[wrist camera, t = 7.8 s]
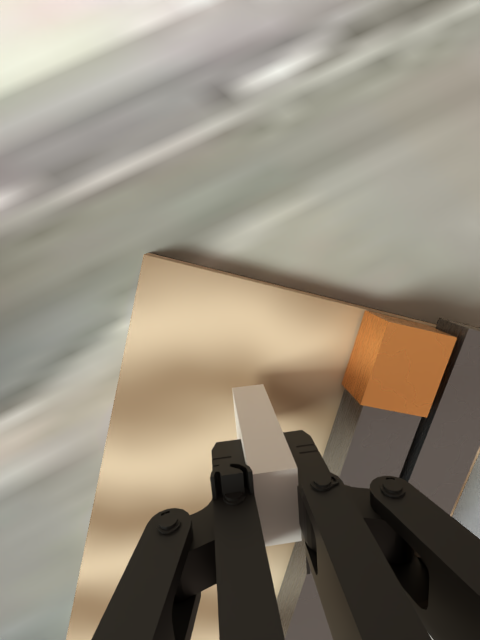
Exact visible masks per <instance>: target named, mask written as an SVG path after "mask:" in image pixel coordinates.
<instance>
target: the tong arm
mask: <svg viewBox="0 0 480 640" xmlns="http://www.w3.org/2000/svg"><path fill="white" fill-rule="evenodd" d="M456 340H457V337H455V336H452V335H450V334H448V333H445V332H443V331H440V330H438V329H436V328H433V327H431V326H428V325H426V324H421V323H417V322H413V321H409V320H404V319H400V318H396V317H392V316H387V315H383V314H379V313H374V312H370V311H366V310H365V312H364V315H363V318H362V321H361V324H360V328H359V331H358V334H357V337H356V340H355V343H354V346H353V349H352V353H351V356H350V359H349V362H348V365H347V368H346V371H345V374H344V378H343V381H342V385H343V386H344V387H345V389H344V392H343V396H342V399H341V402H340V405H339V408H338V411H337V414H336V417H335V420H334V423H333V426H332V430H331V433H330V436H329V439H328V442H327V445H326V448H325V451H324V454H323V457H322V458H323V460H324V461H325V463H326V465H327V467H328V469H329V471H330V472H331V473H333V474H335V475H337V476H338V477H339V478H340V479H341V480H342V481H343V483H344V485H347V486H351V487H357V488H368V489H370V484H371V482H372V480H374V479H375V478H377V477H380V476H395V477H398V478H399V476H400V473H401V471H402V468H403V465H404V463H405V460H406V457H407V455H408V452H409V449H410V447H411V444H412V441H413V439H414V436H415V433H416V431H417V428H418V425H419V423H420V420H421V417H426V418H427V416H428V414H429V411H430V408H431V406H432V403H433V401H434V398H435V395H436V393H437V390H438V387H439V385H440V382H441V379H442V377H443V374H444V371H445V369H446V366H447V363H448V361H449V358H450V356H451V353H452V350H453V348H454V345H455V342H456ZM301 539H302V541H298V542H295V544H294V547H293V550H292V554H291V557H290V560H289V563H288V566H287V569H286V572H285V575H284V578H283V581H282V585H281V588H280V591H279V594H278V597H277V604H278V609H279V614H280V619H281V624H282V628H283V633H284V638H285V640H333V638H332V635H331V631H330V628H329V625H328V622H327V619H326V616H325V613H324V610H323V607H322V603H321V600H320V597H319V594H318V591H317V588H316V585H315V582H314V579H313V575H312V572H311V569H310V574H307V570H306V553H305V539H304V536H303V533H302V530H301Z"/></svg>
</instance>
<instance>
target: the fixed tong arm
mask: <svg viewBox="0 0 480 640" xmlns="http://www.w3.org/2000/svg"><path fill="white" fill-rule="evenodd" d="M436 329H438V330H440V331H443V332H445V333H448V334H450V335H452V336H455V337H457V340H456V342H455V345H454V348H453V350H452V353H451V356H450V358H449V361H448V363H447V366H446V369H445V371H444V374H443V377H442V379H441V382H440V385H439V387H438V390H437V393H436V395H435V398H434V401H433V403H432V406H431V408H430V411H429V414H428V416H427V418H426V417H421V420H420V423H419V425H418V428H417V431H416V433H415V436H414V439H413V441H412V444H411V447H410V449H409V452H408V455H407V457H406V460H405V463H404V465H403V468H402V471H401V473H400V476H399V478H401V479H403V480H405V481H407V482H408V483H410V484H411V485H413V486H414V487H415V488H416V489H418V490H419V491H420V492H421V493H423V494H424V495H425V496H426V497H428V498H429V499H430V500H431V501H433V502H434V503H435V504H436V505H438V506H439V507H440V508H441V509H443V510H444V511H445V512H446V513H448V514H449V515H450V514H451V512H452V509H453V507H454V505H455V503H456V500H457V498H458V496H459V493H460V491H461V489H462V486H463V484H464V482H465V479H466V477H467V475H468V472H469V470H470V468H471V465H472V463H473V461H474V458H475V456H476V454H477V451H478V449H479V447H480V328H477V327H474V326H470V325H466V324H462V323H458V322H454V321H450V320H446V319H442V318H439V320H438V323H437V325H436Z"/></svg>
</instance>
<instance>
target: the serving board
mask: <svg viewBox="0 0 480 640" xmlns="http://www.w3.org/2000/svg"><path fill="white" fill-rule="evenodd" d="M365 310H366V311H370V312H374V313H379V314H383V315H387V316H392V317H396V318H400V319H404V320H409V321H413V322H417V323H421V324H426V325H428V326H431V327H433V328H436V324H432V323H428V322H424V321H420V320H416V319H412V318H408V317H404V316H400V315H396V314H392V313H388V312H384V311H380V310H376V309H372V308H368V307H364V306H360V305H356V304H352V303H348V302H344V301H340V300H336V299H332V298H328V297H324V296H320V295H316V294H312V293H308V292H304V291H300V290H296V289H292V288H288V287H284V286H280V285H276V284H272V283H268V282H264V281H260V280H256V279H252V278H248V277H244V276H240V275H236V274H232V273H228V272H224V271H220V270H216V269H212V268H208V267H204V266H200V265H196V264H192V263H188V262H184V261H180V260H176V259H172V258H167V257H163V256H159V255H155V254H151V253H146V254H144V256H143V261H142V266H141V271H140V276H139V281H138V286H137V291H136V296H135V301H134V306H133V311H132V316H131V321H130V326H129V330H128V335H127V340H126V345H125V350H124V355H123V360H122V365H121V370H120V375H119V380H118V385H117V390H116V395H115V400H114V405H113V410H112V415H111V420H110V425H109V430H108V434H107V439H106V444H105V449H104V454H103V459H102V464H101V469H100V474H99V479H98V484H97V489H96V494H95V499H94V504H93V509H92V514H91V519H90V524H89V529H88V533H87V538H86V543H85V548H84V553H83V558H82V563H81V568H80V573H79V578H78V583H77V588H76V593H75V598H74V603H73V608H72V613H71V618H70V623H69V628H68V633H67V637H66V640H91V639H92V637H93V635H94V633H95V631H96V629H97V627H98V625H99V623H100V620H101V618H102V616H103V614H104V612H105V610H106V608H107V606H108V604H109V602H110V600H111V598H112V596H113V594H114V591H115V589H116V587H117V585H118V583H119V581H120V579H121V577H122V575H123V573H124V571H125V569H126V567H127V565H128V562H129V560H130V558H131V556H132V554H133V552H134V550H135V548H136V546H137V544H138V542H139V540H140V538H141V536H142V533H143V531H144V529H145V527H146V525H147V523H148V522H149V521H150V519H151V518H152V517H153V516H154V515H156V514H157V513H158V512H160V511H163V510H165V509H170V508H179V509H183V510H185V511H186V512H188V513H189V515H191V514H194V513H196V512H198V511H200V510H202V509H203V508H205V507H206V506H207V505H208V504H209V503H210V502H211V500H212V490H211V482H210V475H211V472H212V452H211V450H212V449H213V447H214V445H215V444H216V442H222V441H230V440H237V432H236V422H235V412H234V402H233V392H232V388H235V387H243V386H251V385H260V384H263V385H264V387H265V390H266V392H267V395H268V397H269V400H270V402H271V405H272V407H273V409H274V412H275V414H276V417H277V419H278V422H279V424H280V427H281V429H282V431H283V432H290V431H297V430H303V431H304V432H306V433H307V434H309V435H310V436H311V437H312V439H313V441H314V443H315V445H316V447H317V448H318V451H319V452H320V454H321V456H322V457H323V454H324V451H325V448H326V445H327V442H328V439H329V436H330V433H331V430H332V426H333V423H334V420H335V417H336V414H337V411H338V408H339V405H340V402H341V399H342V396H343V392H344V389H345V387H344V386H343V385H342V381H343V378H344V374H345V371H346V368H347V365H348V362H349V359H350V356H351V353H352V349H353V346H354V343H355V340H356V337H357V334H358V331H359V328H360V324H361V321H362V318H363V315H364V312H365ZM479 452H480V447H479V449H478V451H477V454H476V456H475V458H474V461H473V463H472V465H471V468H470V470H469V472H468V475H467V477H466V479H465V482H464V484H463V486H462V489H461V491H460V493H459V496H458V498H457V500H456V503H455V505H454V507H453V509H452V512H451V514H450V516H451V517H452V515H453V512H454V510H455V508H456V505H457V503H458V501H459V498H460V496H461V494H462V492H463V489H464V487H465V485H466V482H467V480H468V478H469V475H470V473H471V471H472V468H473V466H474V464H475V461H476V459H477V457H478V454H479ZM294 544H295V542H292V543H285V544H279V545H273V546H266V552H267V557H268V561H269V566H270V571H271V576H272V581H273V585H274V590H275V595H276V600H277V597H278V594H279V591H280V588H281V585H282V581H283V578H284V575H285V572H286V569H287V566H288V563H289V560H290V557H291V554H292V550H293V547H294ZM191 640H219V620H218V599H217V584H215V585H213V586H211V587H209V588H207V589H205V590H203V591H201V599H200V603H199V607H198V611H197V615H196V619H195V624H194V628H193V632H192V636H191Z"/></svg>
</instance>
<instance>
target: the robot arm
mask: <svg viewBox="0 0 480 640" xmlns="http://www.w3.org/2000/svg"><path fill="white" fill-rule="evenodd" d="M232 392H233V402H234V412H235V422H236V432H237V440H230V441H222V442H216V444H215V445H214V447H213V449H212V450H211V452H212V472H211V475H210V482H211V490H212V500H211V502H210V503H209V504H208V505H207V506H206V507H205V508H203V509H202V510H200V511H198V512H196V513H194V514H191V515H189V513H188V512H186V511H185V510H183V509H179V508H170V509H165V510H163V511H160V512H158V513H157V514H156V515H154V516H153V517H152V518H151V519H150V521H149V522H148V523H147V525H146V527H145V529H144V531H143V533H142V536H141V538H140V540H139V542H138V544H137V546H136V548H135V550H134V552H133V554H132V556H131V558H130V560H129V562H128V565H127V567H126V569H125V571H124V573H123V575H122V577H121V579H120V581H119V583H118V585H117V587H116V589H115V591H114V594H113V596H112V598H111V600H110V602H109V604H108V606H107V608H106V610H105V612H104V614H103V616H102V618H101V620H100V623H99V625H98V627H97V629H96V631H95V633H94V635H93V637H92V639H91V640H191V636H192V632H193V628H194V624H195V619H196V615H197V611H198V607H199V603H200V599H201V591H203V590H205V589H207V588H209V587H211V586H213V585H215V584H217V599H218V620H219V640H285V638H284V633H283V628H282V624H281V619H280V614H279V609H278V604H277V600H276V595H275V590H274V585H273V581H272V576H271V571H270V566H269V561H268V557H267V552H266V546H273V545H279V544H285V543H292V542H298V541H302V539H301V530H302V533H303V536H304V539H305V553H306V570H307V574H310V569H311V572H312V575H313V579H314V582H315V585H316V588H317V591H318V594H319V597H320V600H321V603H322V607H323V610H324V613H325V616H326V619H327V622H328V625H329V628H330V631H331V635H332V638H333V640H432V639H431V638H430V636H429V634H430V635H431V637H432V638H433V639H434V640H480V539H479V538H478V537H476V536H475V535H474V534H473V533H471V532H470V531H469V530H468V529H466V528H465V527H464V526H463V525H461V524H460V523H459V522H458V521H456V520H455V519H454V518H453V517H451V516H450V515H449V514H448V513H446V512H445V511H444V510H443V509H441V508H440V507H439V506H438V505H436V504H435V503H434V502H433V501H431V500H430V499H429V498H428V497H426V496H425V495H424V494H423V493H421V492H420V491H419V490H418V489H416V488H415V487H414V486H413V485H411V484H410V483H408V482H407V481H405V480H403V479H401V478H398V477H395V476H380V477H377V478H375V479H374V480H372V482H371V484H370V489H368V488H357V487H351V486H347V485H344V483H343V481H342V480H341V479H340V478H339V477H338V476H337V475H335V474H333V473H331V472H330V471H329V469H328V467H327V465H326V463H325V461H324V460H323V458H322V456H321V454H320V452H319V451H318V448H317V447H316V445H315V443H314V441H313V439H312V437H311V436H310V435H309V434H307V433H306V432H304V431H303V430H297V431H290V432H283V431H282V429H281V427H280V424H279V422H278V419H277V417H276V414H275V412H274V409H273V407H272V405H271V402H270V400H269V397H268V395H267V392H266V390H265V387H264V385H263V384H260V385H251V386H243V387H235V388H232ZM428 633H429V634H428Z"/></svg>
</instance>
